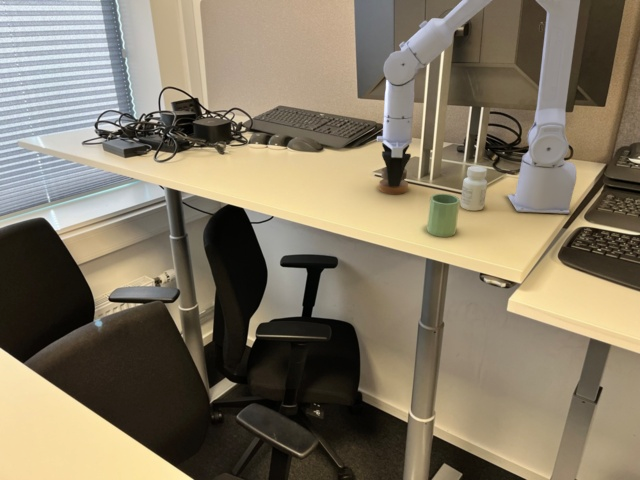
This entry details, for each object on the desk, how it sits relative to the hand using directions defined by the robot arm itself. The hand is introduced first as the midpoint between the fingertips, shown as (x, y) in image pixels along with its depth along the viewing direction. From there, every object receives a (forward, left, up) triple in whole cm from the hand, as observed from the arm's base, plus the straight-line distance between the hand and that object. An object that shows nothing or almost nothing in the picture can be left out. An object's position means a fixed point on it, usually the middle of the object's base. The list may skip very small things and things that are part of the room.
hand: (393, 180), depth 99 cm
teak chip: (0, 0, -2) cm, 2 cm away
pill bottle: (-15, +8, -2) cm, 17 cm away
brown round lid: (0, 0, +1) cm, 1 cm away
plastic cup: (-8, +19, -2) cm, 21 cm away
